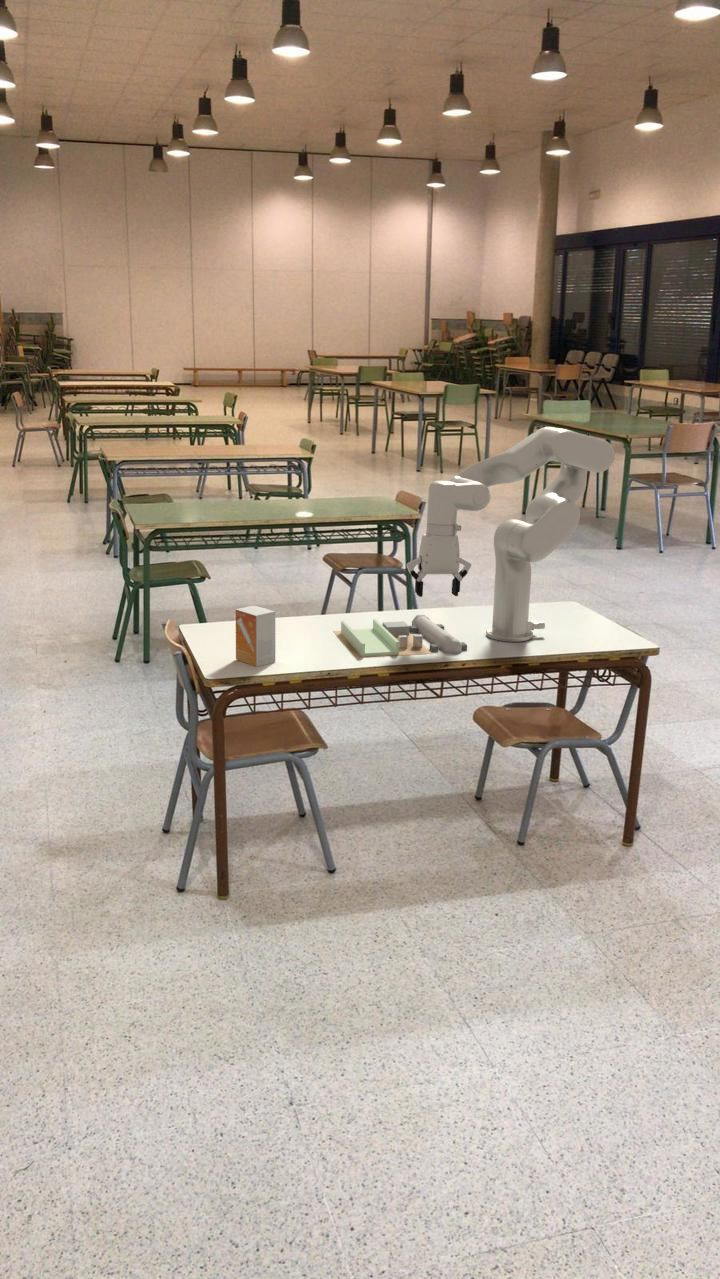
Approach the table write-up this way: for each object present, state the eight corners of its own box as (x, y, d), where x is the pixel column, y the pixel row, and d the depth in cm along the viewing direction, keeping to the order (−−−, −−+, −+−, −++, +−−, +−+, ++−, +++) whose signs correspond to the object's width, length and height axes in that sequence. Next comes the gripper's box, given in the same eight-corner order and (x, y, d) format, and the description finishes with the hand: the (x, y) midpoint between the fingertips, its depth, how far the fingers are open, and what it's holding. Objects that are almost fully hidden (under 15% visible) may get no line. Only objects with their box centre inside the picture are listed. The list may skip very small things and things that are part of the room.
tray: (375, 631, 291) (376, 619, 291) (398, 654, 271) (399, 641, 270) (341, 632, 289) (341, 620, 288) (361, 656, 269) (361, 643, 268)
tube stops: (441, 633, 296) (441, 624, 295) (466, 654, 277) (467, 645, 276) (408, 634, 293) (409, 625, 293) (432, 656, 274) (432, 646, 274)
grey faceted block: (403, 630, 293) (404, 621, 292) (409, 635, 288) (409, 626, 288) (382, 631, 291) (382, 622, 291) (387, 636, 287) (387, 627, 286)
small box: (235, 660, 268) (234, 608, 264) (255, 655, 272) (254, 604, 269) (256, 667, 262) (256, 615, 259) (276, 662, 267) (276, 611, 263)
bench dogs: (420, 645, 279) (420, 634, 278) (422, 647, 278) (422, 636, 277) (398, 646, 278) (398, 635, 277) (399, 648, 276) (400, 637, 275)
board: (404, 631, 296) (404, 627, 295) (433, 658, 273) (433, 653, 272) (333, 635, 291) (333, 631, 291) (355, 662, 268) (356, 658, 267)
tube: (468, 642, 274) (432, 617, 296) (450, 637, 272) (415, 612, 294) (461, 662, 274) (425, 635, 297) (443, 657, 272) (408, 630, 295)
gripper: (468, 527, 282) (463, 591, 287) (404, 527, 278) (401, 592, 282) (478, 532, 275) (473, 598, 280) (413, 532, 271) (409, 599, 275)
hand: (437, 595), depth 281 cm, fingers open, 9 cm apart
